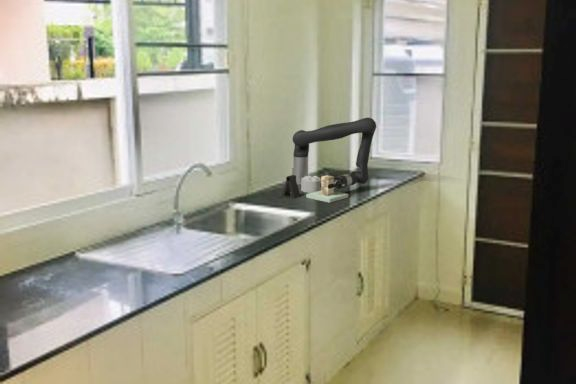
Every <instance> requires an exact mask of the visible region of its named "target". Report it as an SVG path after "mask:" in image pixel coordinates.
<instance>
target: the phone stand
mask: <svg viewBox="0 0 576 384" xmlns="http://www.w3.org/2000/svg"><path fill="white" fill-rule="evenodd" d="M298 186H299V185H298V184H297V182H296V176H295V175H292V174H291V175H288V176H286V177H285V183H284V187H283V190H282V193H281V197H285V198H290V197H291V198H290V199H296V198H299V197H301V193H300V189H299V187H298Z"/></svg>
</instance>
